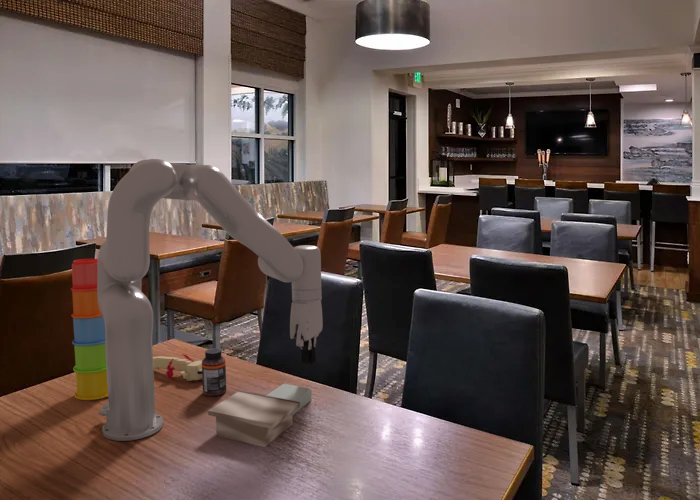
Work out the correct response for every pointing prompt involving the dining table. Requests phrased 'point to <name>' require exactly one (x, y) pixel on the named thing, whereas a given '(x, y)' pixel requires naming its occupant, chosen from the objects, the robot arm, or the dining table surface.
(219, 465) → the dining table surface
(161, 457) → the dining table surface
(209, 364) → the supplement bottle
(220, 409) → the beige wooden box
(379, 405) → the dining table surface
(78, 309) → the stacking cups
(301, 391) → the pale green tile
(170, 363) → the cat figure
